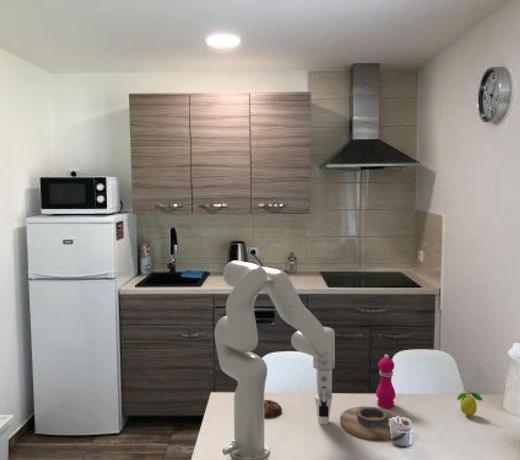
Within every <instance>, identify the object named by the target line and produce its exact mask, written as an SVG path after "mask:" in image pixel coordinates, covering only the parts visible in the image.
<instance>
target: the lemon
mask: <svg viewBox="0 0 520 460" xmlns="http://www.w3.org/2000/svg"><path fill="white" fill-rule="evenodd" d="M470 394H471V395H470ZM456 400H457V401H460V411H461V412H462V414H464V415H466V417H470V416H473V415H475V414H476V412H477V409H478V406H477V401H481V402H482V401H483V398H482V397H481V395H480V394H479V393H477V392H470V391H469V392H468V393H465V392H462V393H460V394H459V395H458V396H457V399H456ZM476 400H477V401H476Z"/></svg>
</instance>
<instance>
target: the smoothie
mask: <svg viewBox="0 0 520 460" xmlns="http://www.w3.org/2000/svg"><path fill="white" fill-rule="evenodd" d="M321 396H322V395H321ZM326 397H327V394H326ZM313 398H314V401H315V407H316V417H317V423H318V424H320V425H324V426H325V425H328V424H329V419H330V413H331V406H332V401H333V397H332V398H328V417H320V416H319V405H320V398H319V397H318V392H317V393H315V394H314V397H313ZM321 400H322V398H321Z"/></svg>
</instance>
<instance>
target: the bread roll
mask: <svg viewBox="0 0 520 460" xmlns="http://www.w3.org/2000/svg"><path fill="white" fill-rule="evenodd" d="M282 410H283V409H282V407H281V405H280V404H279V403H278V402H277V401H275V400H271V399H269V400H268V399H264V418H274V417H277V416H280V415H281V414H282V412H283V411H282Z"/></svg>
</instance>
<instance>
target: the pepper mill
mask: <svg viewBox="0 0 520 460" xmlns="http://www.w3.org/2000/svg"><path fill="white" fill-rule="evenodd" d="M377 364H378V366H377V367H378V369H379V373H378V374H379V375H380V380H379V381H380V382H379V384H378V386H377V388H376V392H375V395H376V397H377V401H376V404H377V406H378V408H382V409H385V410H389V409H393V408H394V407H395V401H394V400H395V399H396V390H395V388H394V386H393V383H392V378H393V375H394V374H393V373H394V371H393V370H394V369H395V362H394V361H393V360H392V359H391V358H390V356H389V354H387V353H386V354H384V356H383V357H381V359H379V361H378V363H377Z"/></svg>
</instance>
